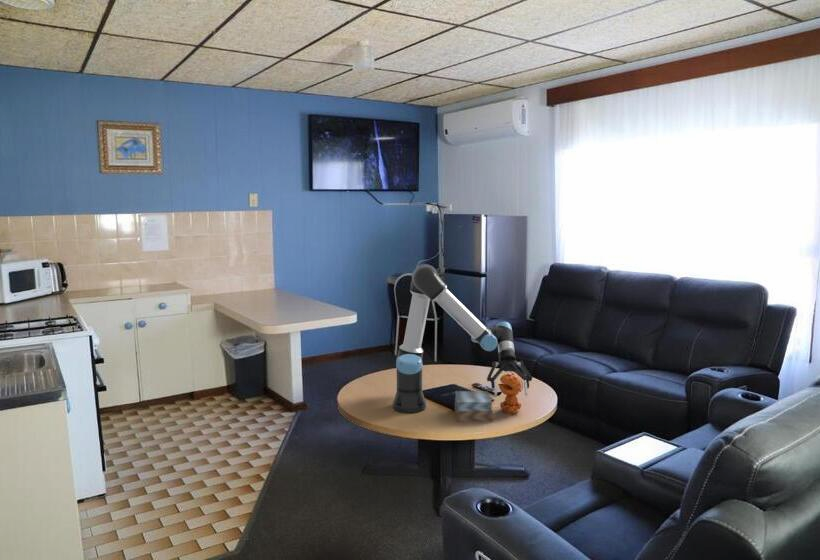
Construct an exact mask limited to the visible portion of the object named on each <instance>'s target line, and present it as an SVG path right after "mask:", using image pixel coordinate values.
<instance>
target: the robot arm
mask: <svg viewBox="0 0 820 560" xmlns="http://www.w3.org/2000/svg"><path fill="white" fill-rule="evenodd" d="M409 291H410V293H411V295H412V296H411V300H410V305H409V312H408V317H407V320H406V321H407V322H406V327H405V333H404V339H403V342H402V344H401V345H399V346H398V353H397V357H396V359H395V367H396V391H395V395H394V397H393V401H392V409H394V411H396V412H399V413H406V414H414V413H420V412H423V411H425V410H426V408H427V402H426V398H425V396H424V392H423V355H424V349H423V348H422V344H423V339H424V338H423V337H424V334H425V328H426V324H427V322H426V321H427V317H428V312H429V307H430V301H432V302H435V303H437V305H438V306H440V307H441V308H442V309H443V310H444V311H445V312H446V313H447V314H448V315H449V316H450V317H451V318H452V319H453V320H454V321H456V323H457V324H458V325H459V326H460V327H461V328H462V329H463V330H464V331H466V332H467V334H469V336H470V338H471V341H472V342H473V343H476V344H479V346H480V347H481V349H483V350H485V351H487V352H492V351H495V349H496V348H497V351H498V361H496V360H493V361H492V366H491V369H490V370H489V373H488V375H487V377H486V381H487V382H490V384H491V385H490V386H491V389H493V393H494V397H497V396H498V390H497V379H498V377H499V376H500V375H501V374H502V373H503V372H505V373H506V372H507V373H510V372H511V373H514V374H515V375H517V376H518V377H519V378H520V379H521V380H522V381H523V388H524V396H525V397H528V395H529V389H530V382H532V380H533V376H532V374H531V373H530V371H529V370H528V369H527V367H526V366H525V365H524V361H523V360H520V361H517V359H516V352H515V343H514V336H513V329H512V325H511V324H510V323H509V322H507V321H501V322H498V323H496V324H495V326H485V324H483V323H482V322H481V321H480V320H479V319H478V318H477V317H476V316H475V315H474V314H473V312H471V311H470V310H469V309H468V308H467V307H466V306H465V305H464V304H463V303H462V301H460V300H459V299H458V298H457V297H456V296H455V295H454V294H453V293H452V292H451V291H450V290H449V289H448V285H447V284H446V283H445V282H444V280H442V279H441V277H440V275H439V274H438V272H437V269H436V268H435V266H432V265H430V264H428V263H427V264H426V263H422V264H419V265H416V267H415V268H414V269H413V271H412V272H411V281H410V289H409ZM498 366H499V369H498V370H497V371H496V373H494V371H495V369H496V368H497V367H498ZM519 368H520V369H519ZM493 373H494V374H493ZM492 375H493V376H492Z"/></svg>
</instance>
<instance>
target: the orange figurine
mask: <svg viewBox="0 0 820 560" xmlns="http://www.w3.org/2000/svg"><path fill="white" fill-rule="evenodd" d="M505 373H506V374H503V375H501V377H500V378H499V380H500V383H498V384H497V385H498V388H499V390H500V392H501V393H502V394H504V395H506V396H505V398H504V401H501V402H500V404H499V407H500V410H501V411H503V412H504V413H506V414H510V415H511V414H512V415H513V414H517V413H516V412H518V410H519V411H521V407H522V402H519V401H518V397H517V395H518V394H519V393H521V392H522V390H523V388H524V382H523V380H522V378H521V377H520V376H519V375H517V374H515V373H514V372H511V373H510V372H508V371H507V372H505Z"/></svg>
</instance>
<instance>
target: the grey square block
mask: <svg viewBox="0 0 820 560" xmlns="http://www.w3.org/2000/svg"><path fill="white" fill-rule="evenodd" d="M492 403H493V402H492V399H491V397H490V394H489V392H488V391H484V390H483V391H478V390H477V391H474V390H473V391H471V390H469V391H468V390H467V391H466V390H465V391H464V390H463V391H457V390H455V399H454V413H455V417H456V418H455V419H456V422H457V423H459V422H463V423H465V422H466V423H467V422H468V423H469V422H471V423H472V422H473V423H474V422H475V423H476V422H477V423H479V422H480V423H484V422H485V423H486V422H487V423H490V422H491V423H492V422H493V408H492V407H493V404H492Z"/></svg>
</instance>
